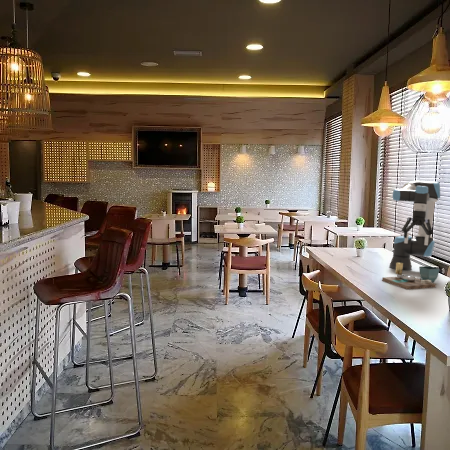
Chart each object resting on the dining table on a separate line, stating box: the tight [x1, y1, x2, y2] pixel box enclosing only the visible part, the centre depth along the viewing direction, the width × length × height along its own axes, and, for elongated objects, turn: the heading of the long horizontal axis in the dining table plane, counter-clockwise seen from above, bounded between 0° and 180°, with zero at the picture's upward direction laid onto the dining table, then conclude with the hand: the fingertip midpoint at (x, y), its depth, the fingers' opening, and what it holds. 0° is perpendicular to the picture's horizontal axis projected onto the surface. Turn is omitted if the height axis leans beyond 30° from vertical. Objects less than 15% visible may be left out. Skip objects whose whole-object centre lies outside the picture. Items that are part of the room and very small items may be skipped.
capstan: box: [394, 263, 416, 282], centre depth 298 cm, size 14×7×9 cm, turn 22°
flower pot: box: [418, 265, 440, 283], centre depth 305 cm, size 9×9×9 cm
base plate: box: [381, 276, 437, 290], centre depth 295 cm, size 22×22×4 cm
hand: (415, 244), depth 299 cm, fingers open, 13 cm apart
